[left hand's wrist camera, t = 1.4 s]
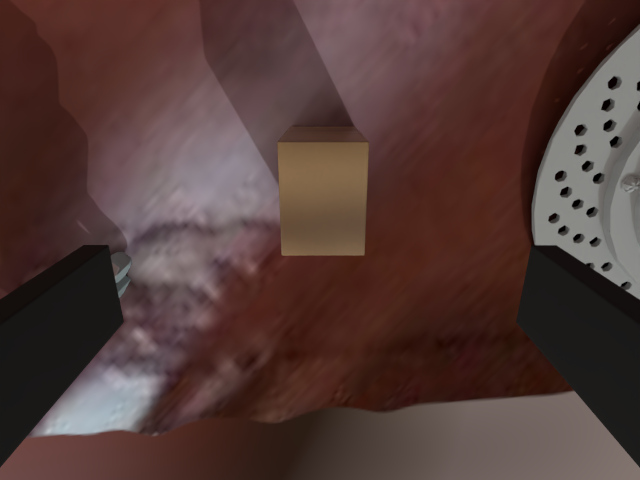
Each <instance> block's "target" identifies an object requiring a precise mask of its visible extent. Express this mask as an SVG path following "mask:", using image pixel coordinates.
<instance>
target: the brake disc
mask: <svg viewBox="0 0 640 480" xmlns="http://www.w3.org/2000/svg"><path fill="white" fill-rule="evenodd" d="M613 76H615V77H616V78H617V79H618V80H617V84H616V86H614V87H613V88H611V89H609V88H608V81H609V80H610V79H611V78H612V77H613ZM639 81H640V24H639V25H638V26H637V27H636V28H635V29H634V30H633V31H632V32H631V33H630V34H629V35H628V36H627V37H626V38H625V39H624V40H623V41H622V42H621V43H620V44H619V45H618V46H617V47H616V48H615V49H614V50H613V51H612V52H611V53H610V54H609V55H608V56H607V57H606V58H605V59H604V60H603V61H602V62H601V63H600V64H599V65H598V67H597V68H596V69H595V71H594V72H593V73H592V74H591V76H590V77H589V78H588V79H587V81H586V82H585V83H584V84H583V86H582V87H581V88H580V89H579V91H578V92H577V93H576V94H575V96H574V97H573V99H572V101H571V102H570V104H569V106H568V107H567V109H566V111H565V112H564V114H563V116H562V117H561V119H560V121H559V122H558V124H557V126H556V128H555V130H554V132H553V134H552V136H551V138H550V140H549V143H548V146H547V148H546V151H545V154H544V156H543V159H542V162H541V164H540V167H539V170H538V174H537V179H536V185H535V190H534V196H533V201H532V233H533V239H534V244H535V245H557V246H558V247H560V248H561V249H563V250H564V251H566V252H567V253H569V254H571V255H572V256H574V257H575V258H577V259H578V260H580V261H581V262H583V263H584V264H586V263H591V264H590V267H591V268H592V269H594V270H595V271H597V272H598V273H600V274H601V275H603V276H604V277H606V278H607V279H609V280H610V281H612V282H614V283H615V284H617V285H618V286H621V284H622V283H624V282H626V281H627V282H628V283H627V284H626V285H625V286H624V287H621V288H623V289H624V290H626V291H627V292H629V293H630V294H632V295H633V296H635V297H637V298H638V299H640V110H639V111H638V109H637V106H638V104H639V101H640V90H639V91H637V83H638V82H639ZM607 99H610V102H611V104H610V106H609V107H608V108H607V109H606V110H601V108H602V104H603V101H605V100H607ZM608 120H611V121H612V122H613V123H612V125H611V127H610V128H609V129H607V130H605V131H604V130H603V126H604V123H606V122H607V121H608ZM581 124H582V125H583V127H584V129H583V130H582V131H581V132H580V134H579V135H576V134H575V132H574V130H575V128H576V127H577V125H581ZM615 136H617V137H619V139H618V142H617V144H615V145H613V146H612V147H611V146H610V142H609V141H611V140H612V139H613V138H614V137H615ZM582 144H583V146H584V147H583V150H582V151H581V152H580V153H578V154H574V153H575V149H576V146H577V145H582ZM586 161H590V163H591V164H590V165H589V167H588V168H587V169H586V170H582V165H583V164H584V163H585V162H586ZM562 170H563V171H564V173H563V176H562V178H560V179H558V180H555V174H556V173H557V172H558V171H562ZM598 173H601V174H602V176H601V177H600V179H599V180H598V181H595V182H593V177H594V175H596V174H598ZM565 187H569V188H568V192H567V194H565V195H562V196H560V192H561V189H563V188H565ZM577 199H580V200H581V201H580V203H579V205H578V206H576V207H572V204H573V202H574V201H575V200H577ZM592 207H595V209H594V211H593V213H591V214H590V215H586V212H587V210H588V209H590V208H592ZM554 213H556V214H557V217H556V218H555V219H553V220H551V221H548V219H549V216H550V215H552V214H554ZM564 225H565V226H566V230H565V231H563V232H560V233H558V229H559V228H561V227H562V226H564ZM576 234H581V237H580V238H579V239H577V240H576V241H574V240H573V237H574V236H575V235H576ZM595 237H597V241H596V242H595V243H593V244H590V243H589V242H590V241H591V240H592V239H594V238H595ZM607 262H609V264H608V266H607V267H605V268H601V266H602V265H603V264H604V263H607Z"/></svg>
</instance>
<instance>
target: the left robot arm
mask: <svg viewBox="0 0 640 480" xmlns="http://www.w3.org/2000/svg"><path fill="white" fill-rule="evenodd" d="M123 322H124V321H123V316H122V311H121V306H120V301H119V296H118V291H117V286H116V281H115V276H114V271H113V266H112V261H111V256H110V251H109V246H108V245H83V246H82V247H80V248H79V249H77V250H76V251H74V252H73V253H71V254H69V255H68V256H66V257H65V258H63V259H62V260H60V261H59V262H57V263H56V264H54V265H53V266H51V267H49V268H48V269H46V270H45V271H43V272H42V273H40V274H39V275H37V276H36V277H34V278H33V279H31V280H30V281H28V282H26V283H25V284H23V285H22V286H20V287H19V288H17V289H16V290H14V291H13V292H11V293H10V294H8V295H7V296H5V297H3V298H2V299H0V467H1V466H2V465H3V463H4V462H5V461H6V460H7V459H8V458H9V456H10V455H11V454H12V453H13V452H14V451H15V449H16V448H17V447H18V446H19V445H20V443H21V442H22V441H23V440H24V439H25V438H26V436H27V435H28V434H29V433H30V432H31V431H32V429H33V428H34V427H35V426H36V425H37V424H38V422H39V421H40V420H41V419H42V418H43V416H44V415H45V414H46V413H47V412H48V411H49V409H50V408H51V407H52V406H53V405H54V404H55V402H56V401H57V400H58V399H59V398H60V396H61V395H62V394H63V393H64V392H65V391H66V389H67V388H68V387H69V386H70V385H71V384H72V382H73V381H74V380H75V379H76V378H77V376H78V375H79V374H80V373H81V372H82V371H83V369H84V368H85V367H86V366H87V365H88V364H89V362H90V361H91V360H92V359H93V358H94V356H95V355H96V354H97V353H98V352H99V351H100V349H101V348H102V347H103V346H104V345H105V344H106V342H107V341H108V340H109V339H110V338H111V336H112V335H113V334H114V333H115V332H116V331H117V329H118V328H119V327H120V326H121V325H122V324H123ZM516 322H517V324H518V325H519V326H520V327H521V328H522V329H523V331H524V332H525V333H526V334H527V335H528V336H529V338H530V339H531V340H532V341H533V342H534V344H535V345H536V346H537V347H538V348H539V349H540V351H541V352H542V353H543V354H544V355H545V356H546V358H547V359H548V360H549V361H550V362H551V364H552V365H553V366H554V367H555V368H556V369H557V371H558V372H559V373H560V374H561V375H562V376H563V378H564V379H565V380H566V381H567V382H568V384H569V385H570V386H571V387H572V388H573V389H574V391H575V392H576V393H577V394H578V395H579V396H580V398H581V399H582V400H583V401H584V402H585V404H586V405H587V406H588V407H589V408H590V409H591V411H592V412H593V413H594V414H595V415H596V416H597V418H598V419H599V420H600V421H601V422H602V423H603V425H604V426H605V427H606V428H607V429H608V431H609V432H610V433H611V434H612V435H613V436H614V438H615V439H616V440H617V441H618V442H619V444H620V445H621V446H622V447H623V448H624V449H625V451H626V452H627V453H628V454H629V455H630V456H631V458H632V459H633V460H634V461H635V462H636V464H637V465H638V466H639V467H640V299H638V298H637V297H635V296H633V295H632V294H630V293H629V292H627V291H626V290H624V289H623V288H621V287H620V286H618V285H617V284H615V283H614V282H612V281H610V280H609V279H607V278H606V277H604V276H603V275H601V274H600V273H598V272H597V271H595V270H594V269H592V268H591V267H589V266H587V265H586V264H584V263H583V262H581V261H580V260H578V259H577V258H575V257H574V256H572V255H571V254H569V253H567V252H566V251H564V250H563V249H561V248H560V247H558V246H557V245H532V246H531V251H530V256H529V261H528V266H527V271H526V276H525V281H524V286H523V291H522V296H521V301H520V306H519V311H518V316H517V321H516Z"/></svg>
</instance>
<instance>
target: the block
mask: <svg viewBox="0 0 640 480" xmlns="http://www.w3.org/2000/svg"><path fill="white" fill-rule="evenodd" d="M277 150H278V175H279V200H280V225H281V251H282V255H364V254H365V229H366V204H367V179H368V155H369V142H368V141H367V139H366V138H365V137H364V136H363V135H362V134H361V133H360V132H359V131H358V130H357V129H356V127H354V126H302V127H290V128H289V129H288V130H287V131H286V133H285V134H284V135H283V136H282V137H281V138H280V140H279V141H278V142H277Z"/></svg>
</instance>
